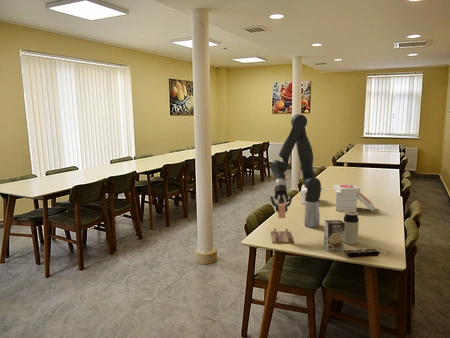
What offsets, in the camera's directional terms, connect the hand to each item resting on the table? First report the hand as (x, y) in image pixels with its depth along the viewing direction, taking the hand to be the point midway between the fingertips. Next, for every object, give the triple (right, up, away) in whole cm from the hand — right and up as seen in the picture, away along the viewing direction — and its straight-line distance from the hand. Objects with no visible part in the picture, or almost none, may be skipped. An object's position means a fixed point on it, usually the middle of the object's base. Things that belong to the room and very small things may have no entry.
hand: (282, 211), depth 207 cm
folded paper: (+40, -3, +91) cm, 99 cm away
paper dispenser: (+66, -6, +64) cm, 92 cm away
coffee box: (+26, -19, -15) cm, 36 cm away
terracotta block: (0, -4, +3) cm, 4 cm away
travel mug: (+39, -18, -5) cm, 43 cm away
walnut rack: (+1, -17, +5) cm, 17 cm away
